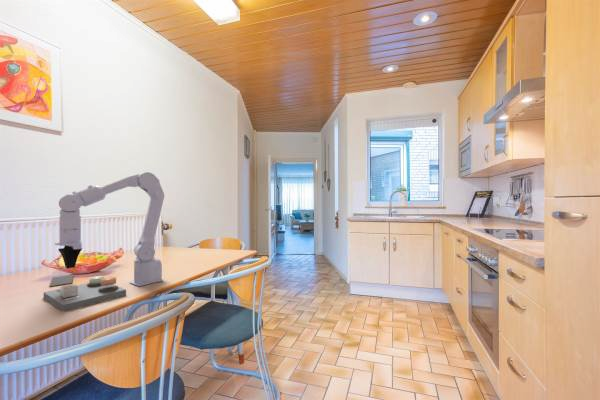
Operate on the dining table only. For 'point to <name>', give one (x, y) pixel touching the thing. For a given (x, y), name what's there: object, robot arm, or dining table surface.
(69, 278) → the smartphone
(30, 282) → the dining table surface
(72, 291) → the slider knob
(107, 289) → the control panel
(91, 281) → the sage button
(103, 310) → the dining table surface
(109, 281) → the terracotta button
